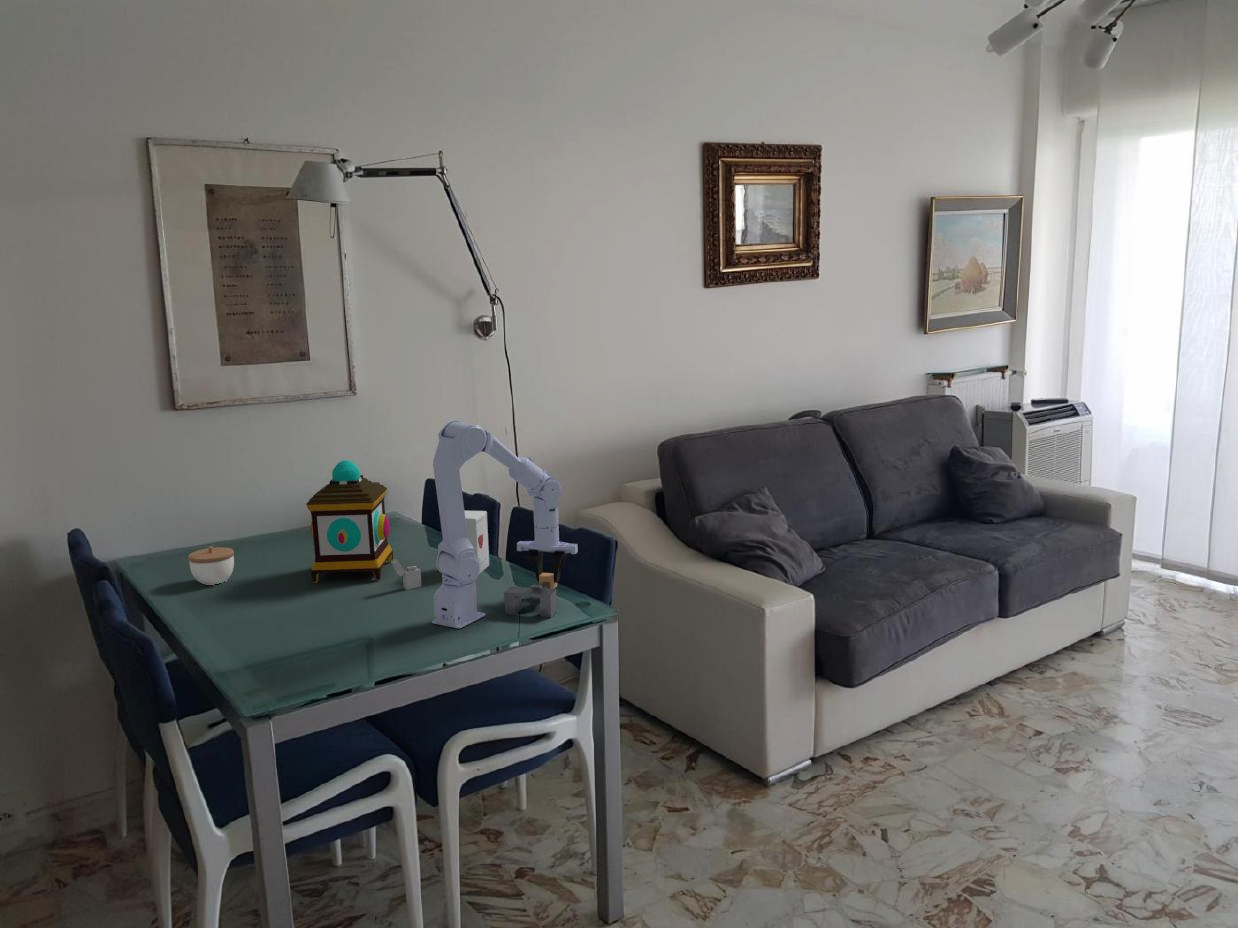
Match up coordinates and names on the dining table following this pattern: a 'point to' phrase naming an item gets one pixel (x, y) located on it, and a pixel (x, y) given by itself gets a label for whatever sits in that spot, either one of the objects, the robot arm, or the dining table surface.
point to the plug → (545, 583)
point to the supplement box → (478, 535)
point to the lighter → (408, 575)
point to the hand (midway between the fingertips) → (548, 580)
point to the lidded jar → (212, 564)
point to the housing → (515, 593)
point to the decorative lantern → (349, 524)
